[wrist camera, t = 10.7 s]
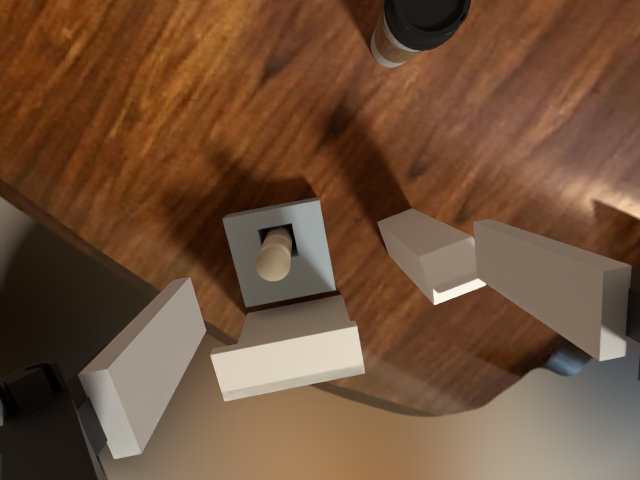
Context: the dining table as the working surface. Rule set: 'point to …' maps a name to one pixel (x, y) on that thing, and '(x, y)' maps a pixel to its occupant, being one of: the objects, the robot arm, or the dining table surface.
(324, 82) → the dining table surface
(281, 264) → the birch peg
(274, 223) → the socket block
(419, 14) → the coffee cup
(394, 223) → the milk
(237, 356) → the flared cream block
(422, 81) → the dining table surface
